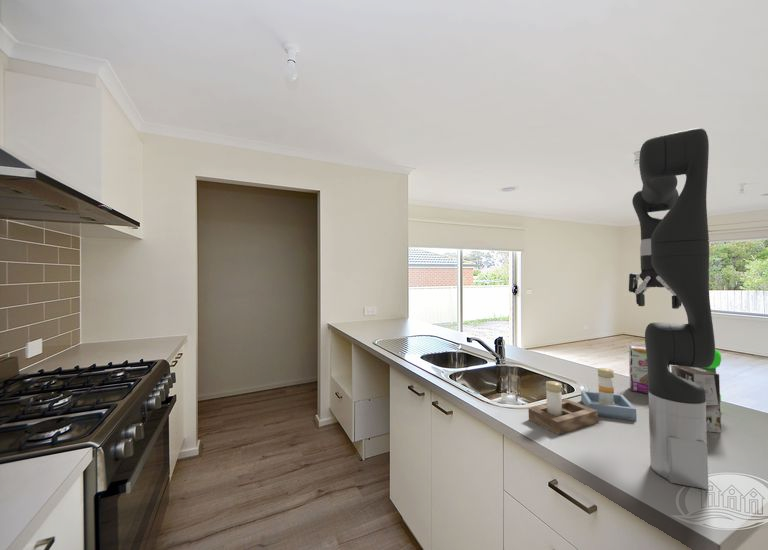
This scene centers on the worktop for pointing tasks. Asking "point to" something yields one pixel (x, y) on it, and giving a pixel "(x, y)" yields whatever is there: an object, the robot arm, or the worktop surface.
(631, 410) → the tray
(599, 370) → the cylinder
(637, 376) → the candy bar box
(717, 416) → the coffee box
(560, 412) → the cylinder
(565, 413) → the fuse holder
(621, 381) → the worktop surface
